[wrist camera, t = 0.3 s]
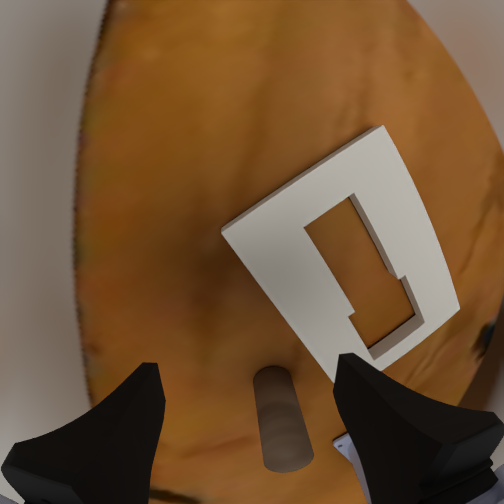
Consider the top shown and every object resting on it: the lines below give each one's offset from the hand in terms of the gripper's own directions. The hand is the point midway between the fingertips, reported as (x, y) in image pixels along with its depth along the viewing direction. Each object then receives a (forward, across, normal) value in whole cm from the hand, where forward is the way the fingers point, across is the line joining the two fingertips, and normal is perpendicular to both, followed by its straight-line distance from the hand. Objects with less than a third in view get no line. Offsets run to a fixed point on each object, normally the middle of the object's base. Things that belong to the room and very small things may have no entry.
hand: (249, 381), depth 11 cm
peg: (+10, -2, +8) cm, 13 cm away
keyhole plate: (+10, -8, -1) cm, 13 cm away
